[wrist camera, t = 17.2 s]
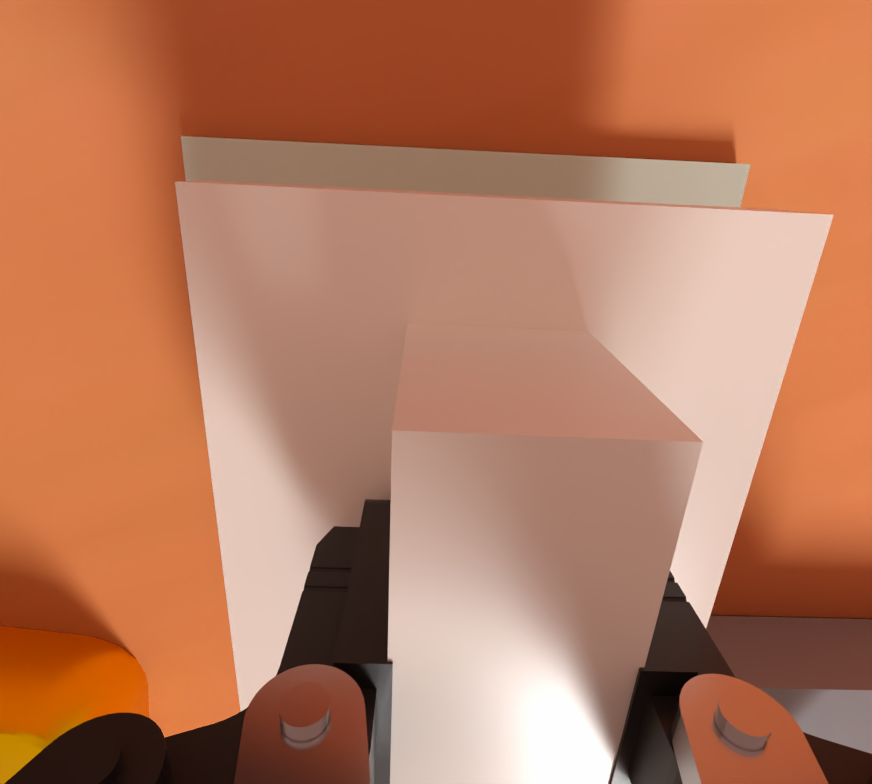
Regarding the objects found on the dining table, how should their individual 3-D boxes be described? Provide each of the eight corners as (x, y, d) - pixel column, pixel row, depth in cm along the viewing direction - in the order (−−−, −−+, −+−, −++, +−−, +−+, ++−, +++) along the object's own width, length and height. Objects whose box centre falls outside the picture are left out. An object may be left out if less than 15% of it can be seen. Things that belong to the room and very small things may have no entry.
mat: (638, 591, 19) (644, 604, 18) (240, 582, 19) (234, 594, 18) (737, 164, 14) (750, 164, 13) (190, 137, 13) (180, 135, 13)
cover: (646, 690, 14) (769, 981, 9) (262, 681, 14) (165, 977, 9) (774, 209, 10) (1165, 245, 5) (212, 181, 9) (-50, 185, 4)
